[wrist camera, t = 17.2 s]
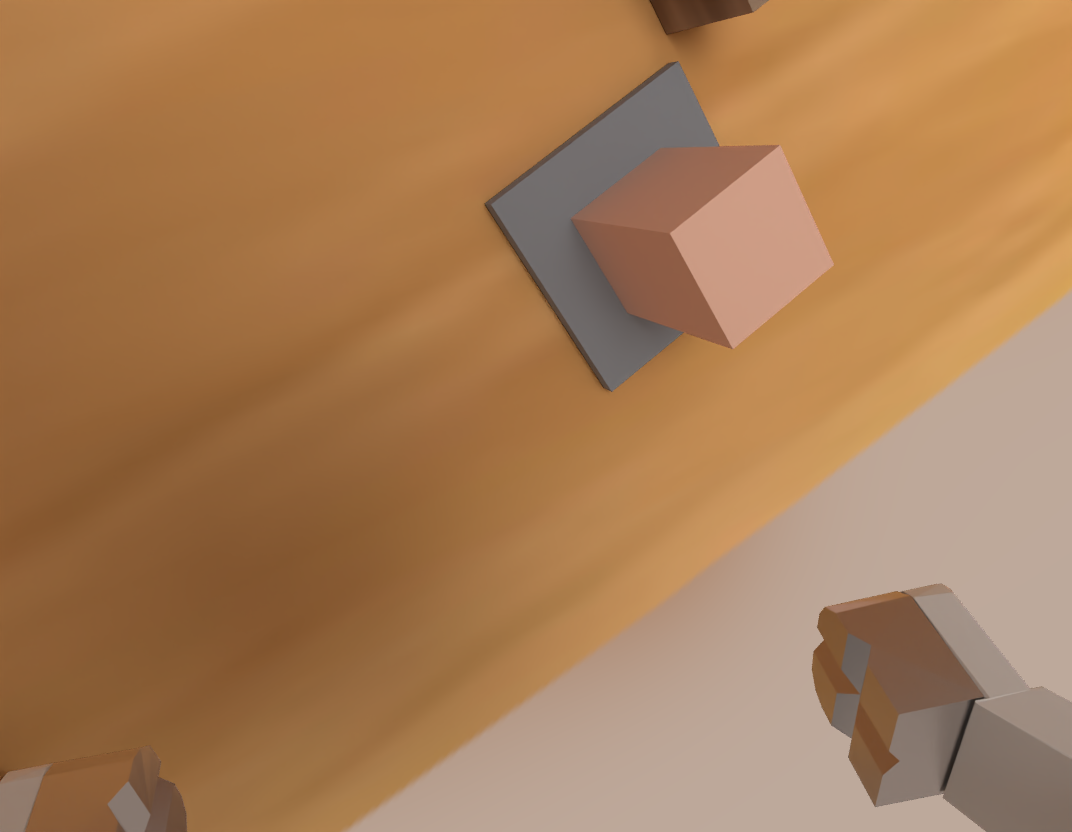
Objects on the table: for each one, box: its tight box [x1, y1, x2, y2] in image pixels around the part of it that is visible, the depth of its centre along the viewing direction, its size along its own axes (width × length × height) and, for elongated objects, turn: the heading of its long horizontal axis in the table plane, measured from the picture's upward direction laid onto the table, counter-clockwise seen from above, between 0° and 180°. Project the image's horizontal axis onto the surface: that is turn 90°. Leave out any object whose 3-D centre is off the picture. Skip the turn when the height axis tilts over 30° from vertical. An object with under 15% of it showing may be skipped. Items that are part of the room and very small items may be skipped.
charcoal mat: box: [485, 61, 720, 392], centre depth 37 cm, size 10×10×1 cm
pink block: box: [571, 145, 834, 349], centre depth 33 cm, size 5×5×8 cm
